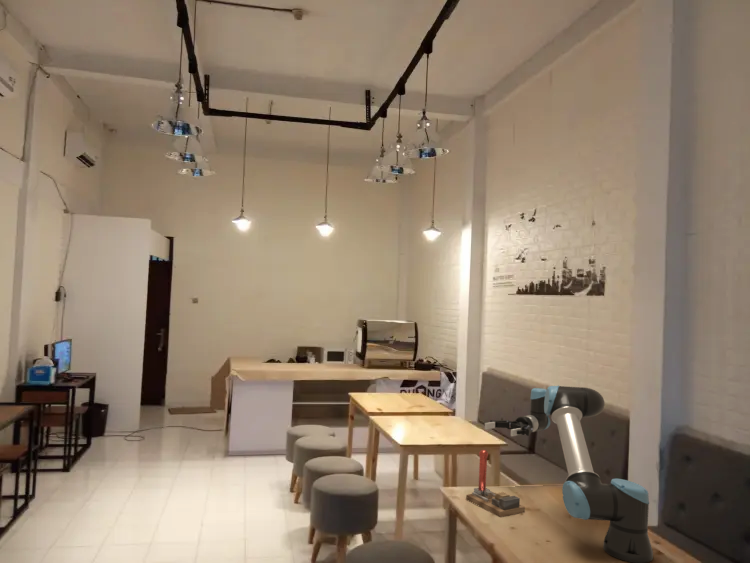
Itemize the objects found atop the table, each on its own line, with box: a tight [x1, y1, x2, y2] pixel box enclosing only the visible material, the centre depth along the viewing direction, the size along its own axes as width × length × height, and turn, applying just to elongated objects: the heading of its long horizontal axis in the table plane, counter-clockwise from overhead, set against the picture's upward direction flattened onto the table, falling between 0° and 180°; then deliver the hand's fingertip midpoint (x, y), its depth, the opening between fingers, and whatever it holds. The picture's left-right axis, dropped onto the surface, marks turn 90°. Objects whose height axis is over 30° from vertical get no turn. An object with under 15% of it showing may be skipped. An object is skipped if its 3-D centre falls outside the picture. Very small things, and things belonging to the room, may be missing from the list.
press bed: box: [465, 490, 526, 518], centre depth 221 cm, size 20×13×6 cm, turn 31°
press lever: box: [473, 449, 493, 498], centre depth 227 cm, size 7×5×18 cm
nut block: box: [494, 491, 511, 500], centre depth 218 cm, size 4×4×4 cm
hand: (498, 429), depth 235 cm, fingers open, 13 cm apart
